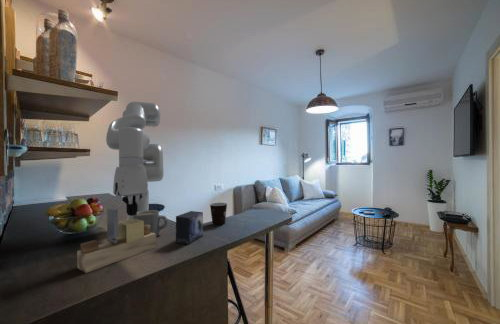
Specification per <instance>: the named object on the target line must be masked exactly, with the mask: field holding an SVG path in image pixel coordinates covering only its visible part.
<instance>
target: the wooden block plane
mask: <svg viewBox="0 0 500 324" xmlns="http://www.w3.org/2000/svg"><path fill="white" fill-rule="evenodd" d="M156 247H157V236H156V233H152V232H150V225H144V238H142V239H139V240H136V241H133V242H129V243H124V242H121V241H119V243H118V244H113V243H110V242H108V241H107V242H104V243H102V244H99V241H98V240H96V239H93V240H90V241H86V242H82V243H80V250H77V253H76V256H77V257H76V259H77V264H76V265H77V269H78V270H80V271H82V272H83V273H85V274H87V273H90V272H93V271H96V270H98V269H101V268H104V267H106V266H108V265H112V264H115V263H117V262H119V261H122V260H125V259H128V258H131V257H134V256H135V255H138V254H141V253H144V252H146V251H149V250H152V249H154V248H156Z"/></svg>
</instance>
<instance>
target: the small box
mask: <svg viewBox="0 0 500 324" xmlns="http://www.w3.org/2000/svg"><path fill="white" fill-rule="evenodd" d="M202 237H204V212H203V211H195V210H190V211H187V212H184V213H181V214H179V215H176V216H175V243H176V244H182V245H190V244H192V243H194V242H195V241H197V240H199V239H201V238H202ZM198 238H199V239H198Z"/></svg>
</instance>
